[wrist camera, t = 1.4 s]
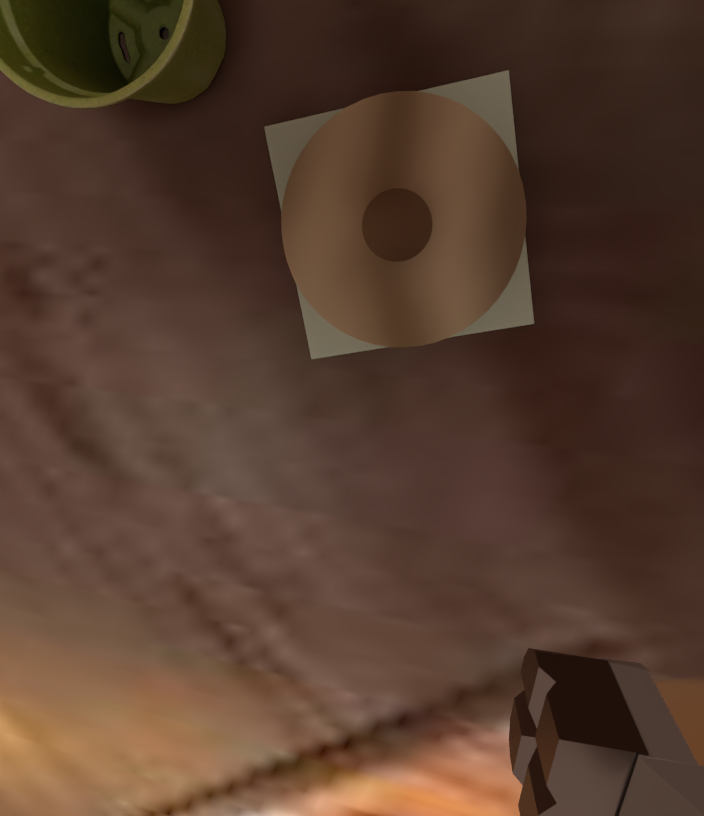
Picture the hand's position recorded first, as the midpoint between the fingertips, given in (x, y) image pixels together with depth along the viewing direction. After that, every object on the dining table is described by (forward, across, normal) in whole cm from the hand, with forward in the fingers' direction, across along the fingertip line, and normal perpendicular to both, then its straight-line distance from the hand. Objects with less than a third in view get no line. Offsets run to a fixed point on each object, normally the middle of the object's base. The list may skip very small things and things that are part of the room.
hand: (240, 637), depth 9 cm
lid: (+24, -1, -6) cm, 25 cm away
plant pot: (+25, +12, -14) cm, 31 cm away
